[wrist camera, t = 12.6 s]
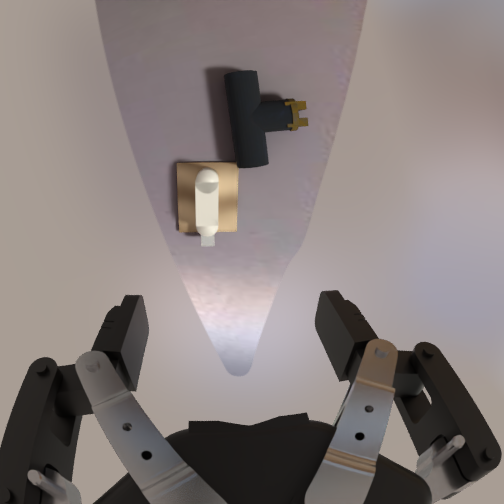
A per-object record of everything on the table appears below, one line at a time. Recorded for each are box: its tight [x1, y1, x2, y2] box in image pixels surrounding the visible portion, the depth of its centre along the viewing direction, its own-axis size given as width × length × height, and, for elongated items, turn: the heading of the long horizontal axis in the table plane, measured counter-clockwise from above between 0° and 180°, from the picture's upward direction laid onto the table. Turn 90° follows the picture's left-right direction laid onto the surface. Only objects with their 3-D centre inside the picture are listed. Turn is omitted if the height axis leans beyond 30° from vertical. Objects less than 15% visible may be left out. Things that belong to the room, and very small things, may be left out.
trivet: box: [177, 162, 238, 232], centre depth 46 cm, size 12×10×1 cm
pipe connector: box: [224, 70, 308, 168], centre depth 39 cm, size 12×5×15 cm
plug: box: [195, 167, 219, 246], centre depth 44 cm, size 13×4×4 cm, turn 178°
